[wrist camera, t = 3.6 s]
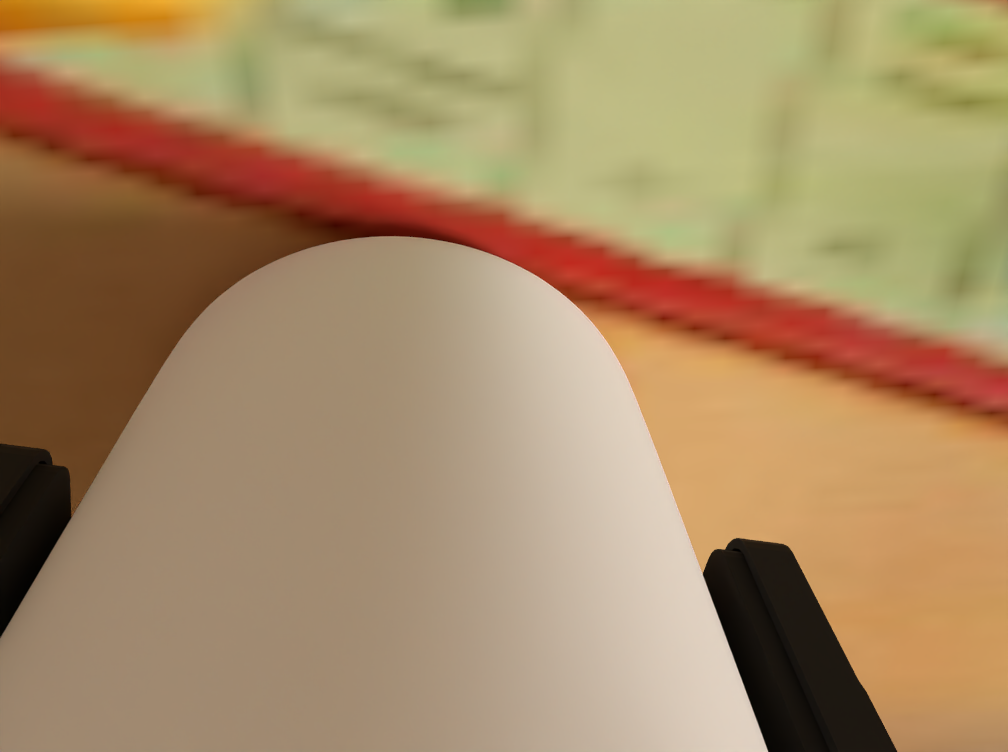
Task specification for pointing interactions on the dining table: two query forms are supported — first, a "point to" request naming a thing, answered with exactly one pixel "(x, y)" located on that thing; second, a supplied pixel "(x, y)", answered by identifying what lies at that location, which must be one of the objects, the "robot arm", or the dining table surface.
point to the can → (378, 536)
